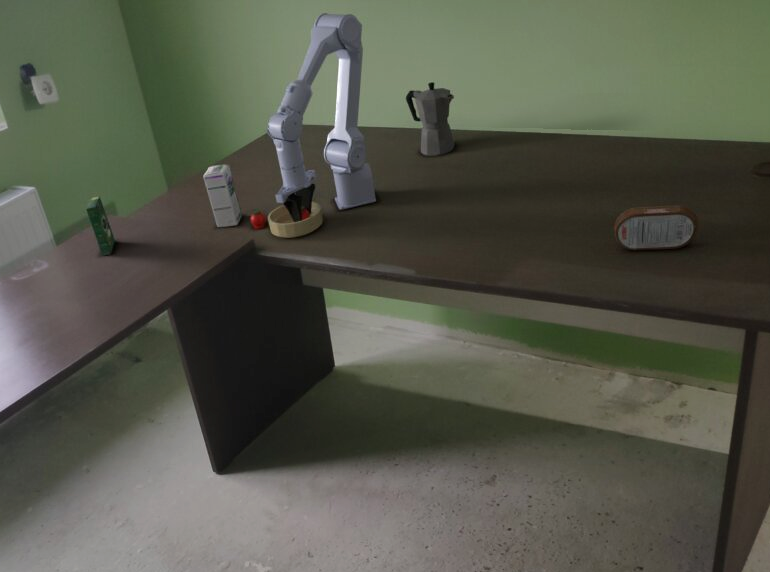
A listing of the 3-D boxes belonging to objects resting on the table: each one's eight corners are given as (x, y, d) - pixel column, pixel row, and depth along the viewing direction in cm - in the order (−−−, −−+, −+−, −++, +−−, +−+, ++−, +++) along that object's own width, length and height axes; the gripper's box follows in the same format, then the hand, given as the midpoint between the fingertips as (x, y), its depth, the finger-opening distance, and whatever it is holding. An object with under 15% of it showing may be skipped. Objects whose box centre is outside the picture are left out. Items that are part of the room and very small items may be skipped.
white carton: (237, 225, 224) (224, 171, 216) (216, 228, 226) (202, 174, 217) (242, 216, 228) (229, 163, 220) (221, 218, 230) (207, 166, 222)
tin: (695, 242, 170) (699, 202, 165) (696, 249, 168) (700, 209, 163) (613, 245, 176) (614, 207, 171) (613, 253, 174) (614, 214, 169)
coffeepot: (467, 145, 235) (462, 77, 224) (447, 158, 230) (441, 90, 220) (422, 140, 245) (415, 75, 234) (401, 153, 240) (393, 87, 230)
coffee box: (105, 242, 233) (89, 197, 226) (115, 240, 233) (100, 194, 225) (101, 255, 227) (84, 209, 219) (111, 253, 227) (95, 206, 219)
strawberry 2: (310, 218, 215) (307, 203, 212) (312, 224, 212) (309, 208, 209) (295, 222, 215) (291, 206, 213) (297, 228, 212) (293, 212, 210)
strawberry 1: (261, 221, 223) (258, 206, 220) (269, 225, 220) (266, 209, 218) (249, 227, 221) (246, 212, 219) (258, 231, 219) (254, 215, 216)
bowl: (319, 211, 221) (316, 196, 218) (326, 231, 210) (324, 216, 208) (268, 223, 221) (265, 208, 219) (273, 244, 210) (270, 229, 208)
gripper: (288, 178, 198) (299, 232, 206) (322, 153, 207) (331, 206, 215) (264, 176, 202) (275, 230, 210) (298, 152, 211) (308, 204, 219)
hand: (302, 218), depth 213 cm, fingers closed on strawberry 2, 3 cm apart
